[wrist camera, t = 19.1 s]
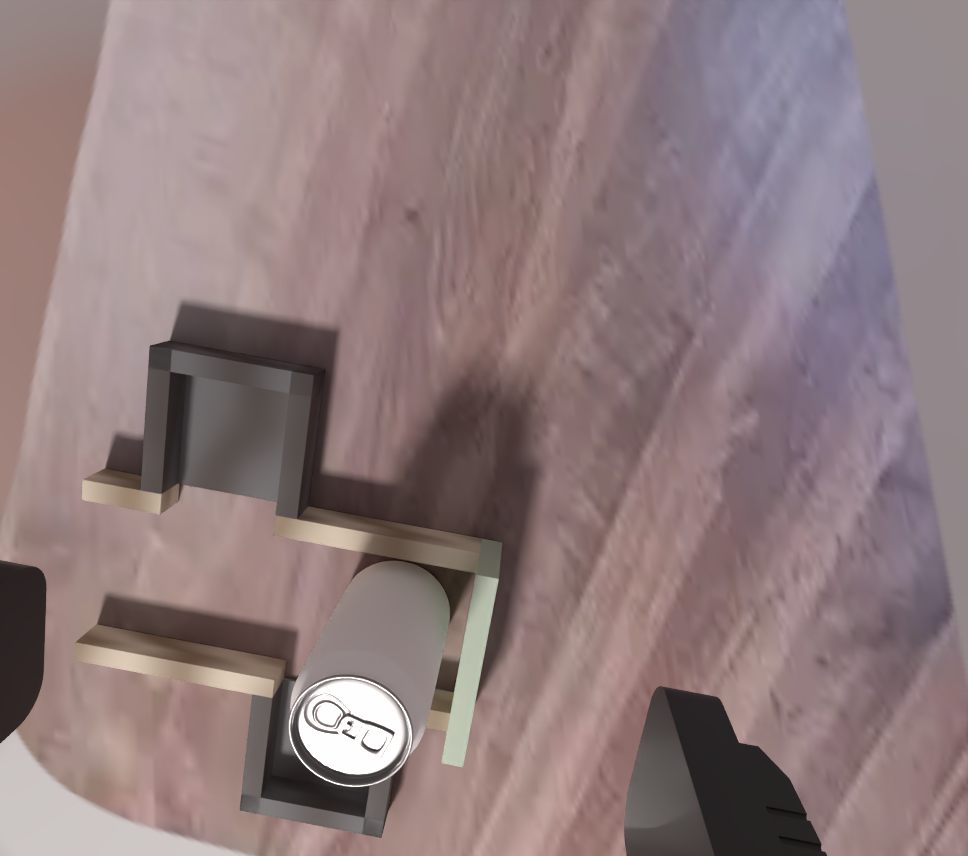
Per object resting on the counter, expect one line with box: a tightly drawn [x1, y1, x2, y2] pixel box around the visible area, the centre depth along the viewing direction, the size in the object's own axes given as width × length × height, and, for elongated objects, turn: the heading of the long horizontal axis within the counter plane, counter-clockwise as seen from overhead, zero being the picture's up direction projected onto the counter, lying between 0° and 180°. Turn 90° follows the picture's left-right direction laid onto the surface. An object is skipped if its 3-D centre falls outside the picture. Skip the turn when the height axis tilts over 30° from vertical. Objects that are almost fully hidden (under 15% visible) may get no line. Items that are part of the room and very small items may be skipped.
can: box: [288, 561, 450, 787], centre depth 39 cm, size 6×6×12 cm
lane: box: [75, 341, 503, 838], centre depth 44 cm, size 24×28×2 cm
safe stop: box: [441, 539, 502, 767], centre depth 42 cm, size 1×11×5 cm, turn 171°
